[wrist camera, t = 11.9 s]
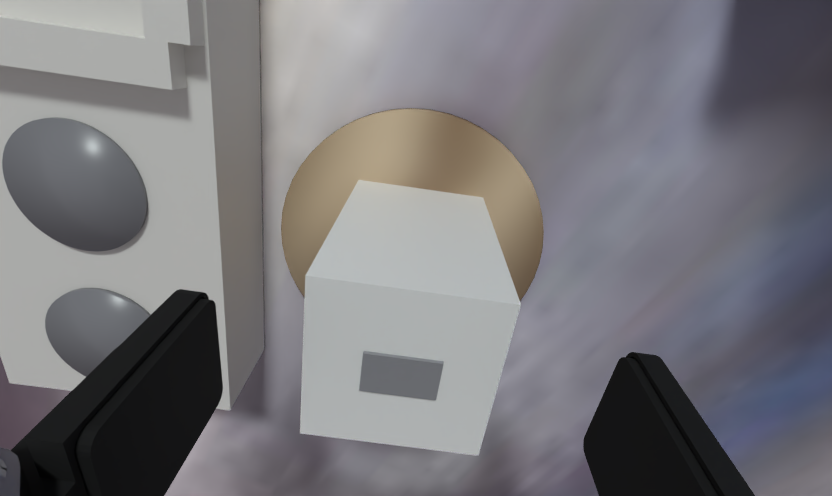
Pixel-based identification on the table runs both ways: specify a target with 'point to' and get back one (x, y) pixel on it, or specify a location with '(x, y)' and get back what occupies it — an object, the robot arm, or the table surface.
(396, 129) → the coaster
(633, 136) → the table surface
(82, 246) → the power strip
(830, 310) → the table surface
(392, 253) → the block
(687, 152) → the table surface
